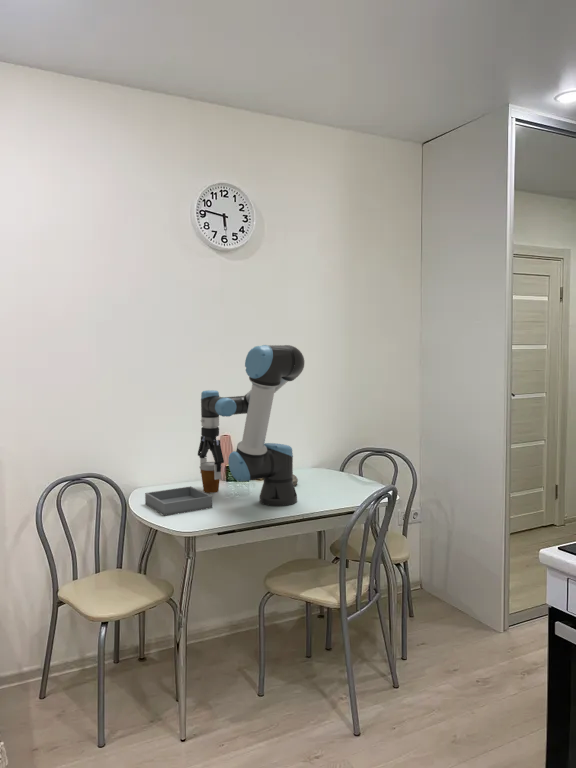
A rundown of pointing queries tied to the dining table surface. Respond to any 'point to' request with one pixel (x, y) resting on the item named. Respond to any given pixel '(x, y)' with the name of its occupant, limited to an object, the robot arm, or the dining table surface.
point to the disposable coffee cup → (209, 477)
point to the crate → (178, 500)
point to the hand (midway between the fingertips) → (210, 476)
